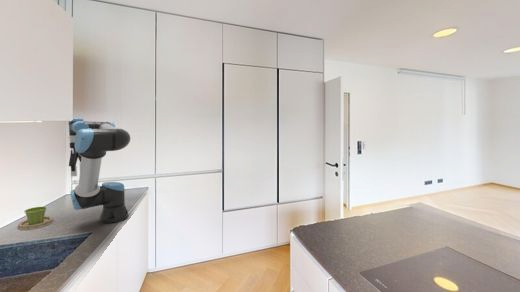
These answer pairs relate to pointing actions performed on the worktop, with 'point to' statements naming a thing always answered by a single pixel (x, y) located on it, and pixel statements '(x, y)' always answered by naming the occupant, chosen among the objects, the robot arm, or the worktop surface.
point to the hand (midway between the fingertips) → (78, 174)
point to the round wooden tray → (25, 225)
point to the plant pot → (35, 215)
